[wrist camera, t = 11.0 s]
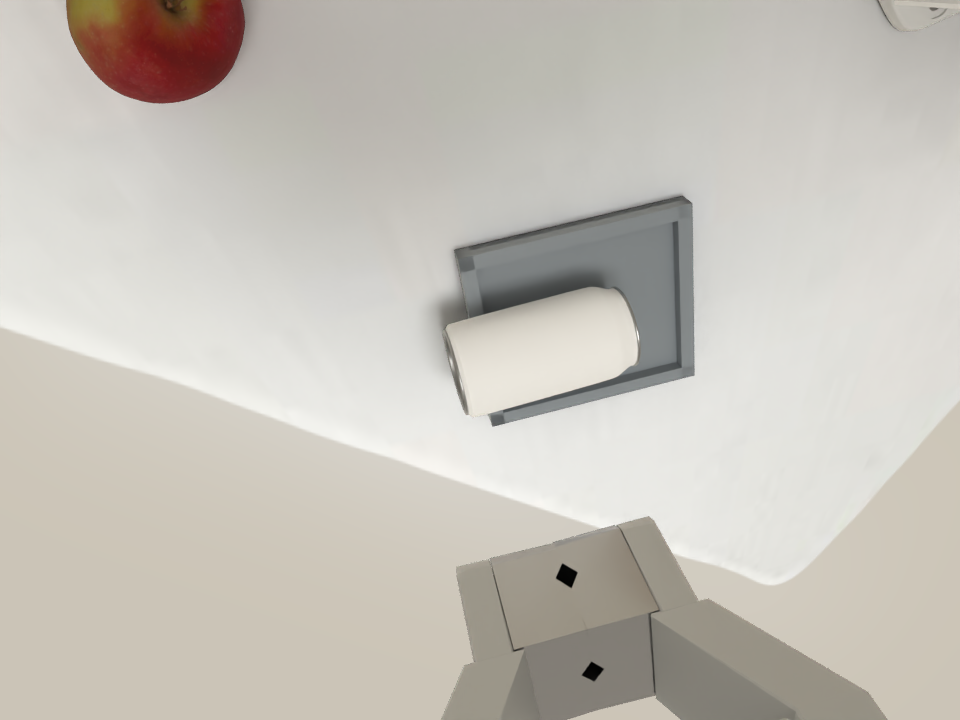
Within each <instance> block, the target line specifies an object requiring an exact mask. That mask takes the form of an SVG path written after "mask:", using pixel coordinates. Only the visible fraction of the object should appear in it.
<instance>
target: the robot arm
mask: <svg viewBox="0 0 960 720" xmlns="http://www.w3.org/2000/svg"><path fill="white" fill-rule="evenodd" d="M879 2H880V5H881V7H882V9H883V11H884V13H885V15H886V16H887V18H888V20H889V21H890V23H891V24H892V25H893V27H895V28H896V29H897V30H900V31H918V30H921V29H923V28H926V27H928V26H930V25H932V24H935V23H937V22H939V21H941V20H944V19H946V18H948V17H951V16H953V15H955V14H957V13H960V0H879ZM929 7H930V8H929ZM490 562H491V564H490ZM491 567H492V568H491ZM456 573H457V581H458V586H459V591H460V595H461V600H462V605H463V611H464V615H465V620H466V625H467V630H468V635H469V640H470V645H471V650H472V655H473V660H474V663H470V664H468V665H464V667H463V670H462V672H461V674H460V676H459V679H458V681H457V683H456V686H455V688H454V690H453V693H452V695H451V697H450V700H449V702H448V704H447V707H446V709H445V711H444V714H443V716H442V719H441V720H567V719H570V718H573V717H577V716H580V715H583V714H586V713H589V712H593V711H596V710H599V709H603V708H607V707H611V706H615V705H619V704H623V703H627V702H631V701H635V700H639V699H643V698H646V697H651V696H655V695H656V699H657V700H659V701H660V702H661V703H662V704H663V705H664V706H666V707H667V708H668V709H669V710H670V711H671V712H673V713H674V714H675V715H676V716H677V717H679V718H680V719H681V720H887V718H886V717H885V715H884V714H883V713H882V711H881V710H880V708H879V707H878V706H877V704H876V703H875V701H874V700H873V698H872V697H871V696H870V694H869V693H868V692H867V691H865V690H864V689H862V688H860V687H858V686H857V685H855V684H853V683H852V682H850V681H848V680H847V679H845V678H843V677H842V676H840V675H838V674H836V673H835V672H833V671H831V670H830V669H828V668H826V667H825V666H823V665H821V664H819V663H818V662H816V661H814V660H813V659H810V658H809V657H807V656H806V655H804V654H802V653H801V652H799V651H797V650H796V649H794V648H792V647H790V646H788V645H787V644H785V643H784V642H782V641H780V640H779V639H777V638H775V637H773V636H772V635H770V634H768V633H766V632H765V631H763V630H761V629H760V628H758V627H756V626H755V625H753V624H751V623H750V622H748V621H746V620H744V619H742V618H741V617H739V616H738V615H736V614H734V613H732V612H731V611H729V610H727V609H726V608H724V607H722V606H721V605H719V604H717V603H715V602H714V601H712V600H710V599H709V598H708V599H704V600H700V601H698V599H697V597H696V595H695V594H694V592H693V590H692V588H691V586H690V585H689V583H688V581H687V579H686V577H685V576H684V574H683V572H682V570H681V568H680V567H679V565H678V563H677V561H676V559H675V557H674V556H673V554H672V552H671V550H670V548H669V547H668V545H667V543H666V541H665V539H664V538H663V536H662V534H661V532H660V530H659V529H658V527H657V525H656V523H655V522H654V520H653V519H651V518H650V517H649V516H648V517H644V518H640V519H636V520H633V521H629V522H625V523H622V524H618V525H617V526H615V525H613V526H609V527H606V528H602V529H599V530H595V531H591V532H588V533H584V534H581V535H577V536H573V537H570V538H566V539H563V540H559V541H556V542H553V543H552V544H548V545H543V546H539V547H535V548H531V549H526V550H522V551H518V552H514V553H510V554H506V555H501V556H497V557H493V558H490V561H489V559H486V560H482V561H479V562H474V563H470V564H466V565H462V566H458V567H456Z"/></svg>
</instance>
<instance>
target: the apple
mask: <svg viewBox="0 0 960 720" xmlns="http://www.w3.org/2000/svg"><path fill="white" fill-rule="evenodd" d="M66 8H67V19H68V25H69V30H70V33H71V36H72V38H73V41H74V43H75V45H76V47H77V49H78V51H79V53H80V54H81V56H82V57H83V59H84V60H85V62H86V63H87V64H88V66H89V67H90V68H91V70H92V71H93V72H94V73H95V74H96V75H97V77H98V78H99V79H100V80H102V81H103V82H104V83H105V84H106V85H107V86H108V87H110V88H111V89H113V90H115V91H116V92H118V93H120V94H122V95H124V96H127V97H130V98H133V99H137V100H140V101H144V102H150V103H174V102H180V101H185V100H188V99H192V98H194V97H197V96H199V95H201V94H203V93H206V92H208V91H209V90H211V89H212V88H214V87H215V86H216V85H218V84H219V83H220V82H221V81H222V80H223V79H224V78H225V77H226V76H227V74H228V73H229V72H230V70H231V69H232V67H233V65H234V63H235V61H236V58H237V56H238V53H239V51H240V48H241V45H242V40H243V35H244V28H245V19H244V11H243V7H242V3H241V0H66Z"/></svg>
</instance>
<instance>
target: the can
mask: <svg viewBox="0 0 960 720" xmlns="http://www.w3.org/2000/svg"><path fill="white" fill-rule="evenodd" d="M443 338H444V343H445V348H446V352H447V356H448V360H449V364H450V368H451V371H452V375H453V379H454V382H455V386H456V389H457V392H458V396H459V399H460V402H461V405H462V408H463V410H464V412H465V414H466V415H470V416H471V417H473V418H474V417H478V416H482V415H486V414H489V413H493V412H497V411H500V410H504V409H508V408H511V407H515V406H518V405H522V404H526V403H529V402H533V401H536V400H540V399H543V398H547V397H551V396H554V395H558V394H561V393H565V392H568V391H572V390H575V389H579V388H582V387H586V386H589V385H593V384H596V383H600V382H603V381H607V380H610V379H613V378H615V377H617V376H619V375H620V374H621V373H622V372H624V371H625V370H626V369H627V368H628V367H630V366H636V365H637V364H638V363H639V361H640V356H641V344H640V336H639V331H638V326H637V323H636V319H635V316H634V313H633V311H632V308H631V306H630V304H629V302H628V300H627V298H626V296H625V295H624V293H623V292H622V291H621V290H620V289H619V288H618V287H615V286H614V287H611V288H610V289H604V288H599V287H587V288H582V289H578V290H574V291H570V292H566V293H563V294H559V295H555V296H551V297H547V298H544V299H540V300H536V301H532V302H529V303H525V304H521V305H517V306H514V307H510V308H506V309H502V310H499V311H495V312H491V313H488V314H484V315H480V316H476V317H473V318H469V319H465V320H462V321H458V322H455V323H451V324H448V325H447V327H446V329H445V330H443Z"/></svg>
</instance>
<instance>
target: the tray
mask: <svg viewBox="0 0 960 720" xmlns="http://www.w3.org/2000/svg"><path fill="white" fill-rule="evenodd" d="M454 252H455V257H456V261H457V266H458V271H459V276H460V281H461V285H462V290H463V295H464V300H465V304H466V309H467V314H468V319H469V318H473V317H476V316H480V315H484V314H488V313H491V312H495V311H499V310H502V309H506V308H510V307H514V306H517V305H521V304H525V303H529V302H532V301H536V300H540V299H544V298H547V297H551V296H555V295H559V294H563V293H566V292H570V291H574V290H578V289H582V288H587V287H599V288H604V289H610V288H611V287H614V286H615V287H618V288H619V289H620V290H621V291H622V292H623V293H624V295H625V296H626V298H627V300H628V302H629V304H630V306H631V308H632V311H633V313H634V316H635V319H636V323H637V326H638V331H639V336H640V344H641V356H640V361H639V363H638V364H637V365H636V366H630V367H628V368H627V369H626V370H625V371H624V372H622V373H621V374H620V375H619V376H617V377H615V378H613V379H610V380H607V381H603V382H600V383H596V384H593V385H589V386H586V387H582V388H579V389H575V390H572V391H568V392H565V393H561V394H558V395H554V396H551V397H547V398H543V399H540V400H536V401H533V402H529V403H526V404H522V405H518V406H515V407H511V408H508V409H504V410H500V411H497V412H493V413H489V418H490V421H491V424H492V427H493V426H497V425H501V424H505V423H509V422H513V421H517V420H521V419H525V418H529V417H533V416H536V415H540V414H544V413H548V412H552V411H556V410H560V409H564V408H568V407H572V406H576V405H580V404H584V403H588V402H592V401H596V400H599V399H603V398H607V397H611V396H615V395H619V394H623V393H627V392H631V391H635V390H639V389H643V388H647V387H651V386H655V385H658V384H662V383H666V382H670V381H674V380H678V379H682V378H686V377H690V376H694V296H693V217H692V203H691V202H690V201H689V200H687V199H686V198H685V197H684V196H681V197H677V198H672V199H668V200H664V201H660V202H656V203H651V204H647V205H643V206H639V207H635V208H630V209H626V210H622V211H618V212H614V213H609V214H605V215H601V216H597V217H593V218H588V219H584V220H580V221H576V222H572V223H567V224H563V225H559V226H555V227H551V228H546V229H542V230H538V231H534V232H529V233H525V234H521V235H517V236H513V237H508V238H504V239H500V240H496V241H492V242H487V243H483V244H479V245H475V246H471V247H466V248H462V249H458V250H454Z"/></svg>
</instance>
